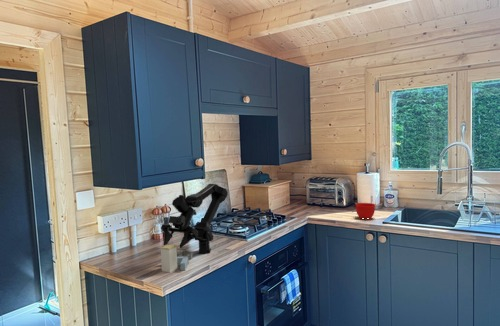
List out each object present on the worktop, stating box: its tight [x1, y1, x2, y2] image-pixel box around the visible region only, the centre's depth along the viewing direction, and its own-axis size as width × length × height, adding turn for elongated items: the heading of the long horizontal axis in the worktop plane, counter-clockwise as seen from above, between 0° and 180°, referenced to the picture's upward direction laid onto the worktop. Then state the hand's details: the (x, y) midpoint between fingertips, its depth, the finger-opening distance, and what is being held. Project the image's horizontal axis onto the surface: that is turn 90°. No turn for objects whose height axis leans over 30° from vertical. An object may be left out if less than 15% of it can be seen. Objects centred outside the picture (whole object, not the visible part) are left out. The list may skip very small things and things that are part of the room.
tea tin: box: [159, 243, 178, 273], centre depth 164 cm, size 5×5×11 cm
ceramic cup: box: [355, 202, 376, 220], centre depth 253 cm, size 13×17×10 cm
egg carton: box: [177, 248, 194, 260], centre depth 177 cm, size 11×8×4 cm
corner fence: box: [177, 256, 189, 272], centre depth 167 cm, size 10×12×4 cm
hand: (172, 246), depth 166 cm, fingers open, 9 cm apart
